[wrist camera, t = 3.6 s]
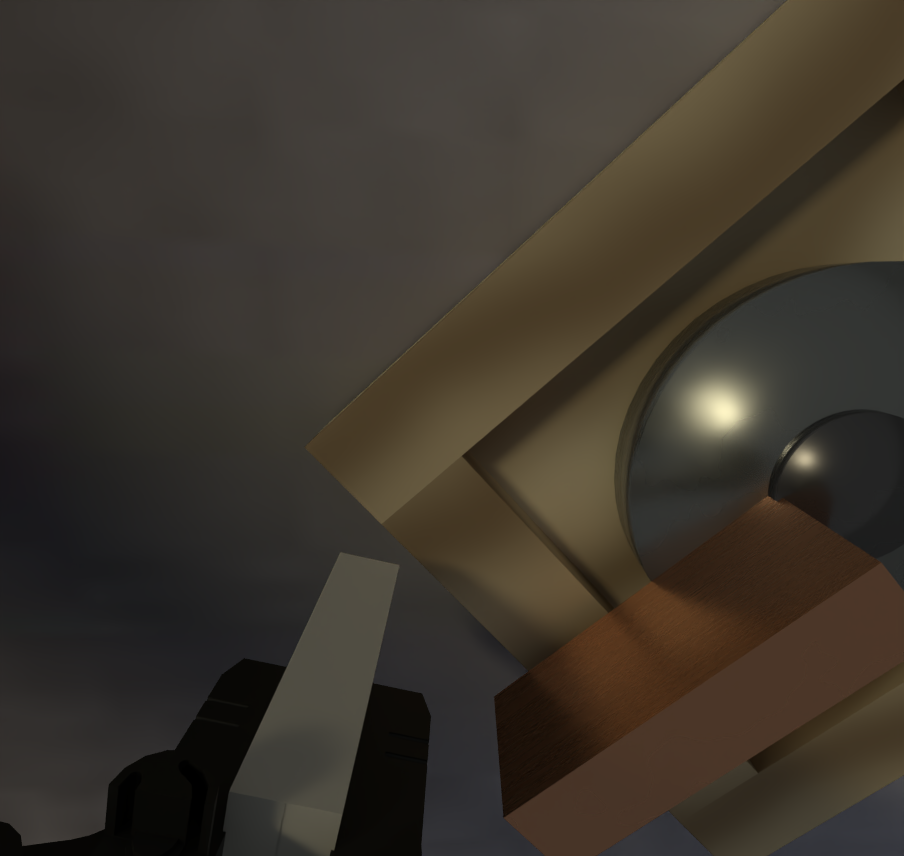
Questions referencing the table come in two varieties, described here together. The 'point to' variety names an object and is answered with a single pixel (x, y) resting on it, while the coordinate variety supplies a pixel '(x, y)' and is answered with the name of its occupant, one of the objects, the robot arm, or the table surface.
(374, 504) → the panel
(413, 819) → the robot arm
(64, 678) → the table surface
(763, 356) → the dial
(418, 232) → the table surface
